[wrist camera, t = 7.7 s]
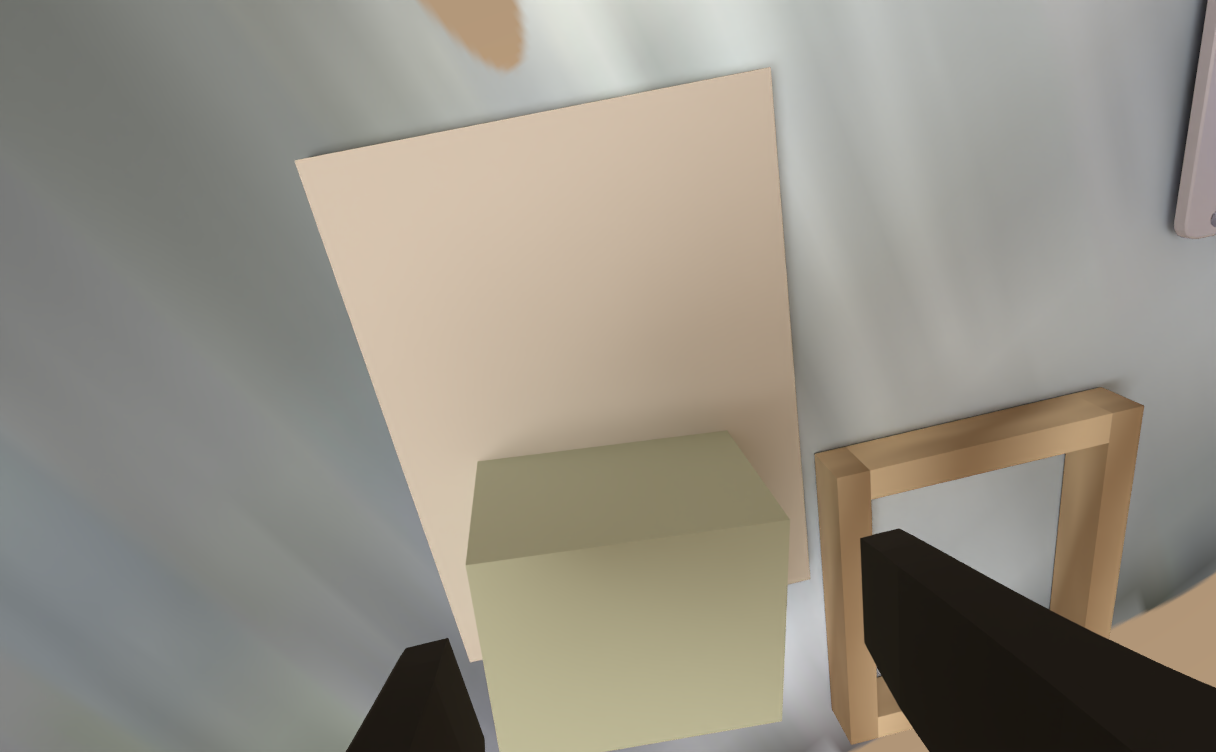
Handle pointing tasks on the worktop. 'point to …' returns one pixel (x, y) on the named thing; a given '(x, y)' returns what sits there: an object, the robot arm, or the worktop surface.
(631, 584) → the green block
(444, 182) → the beige mat
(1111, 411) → the wooden square frame
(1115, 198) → the worktop surface
